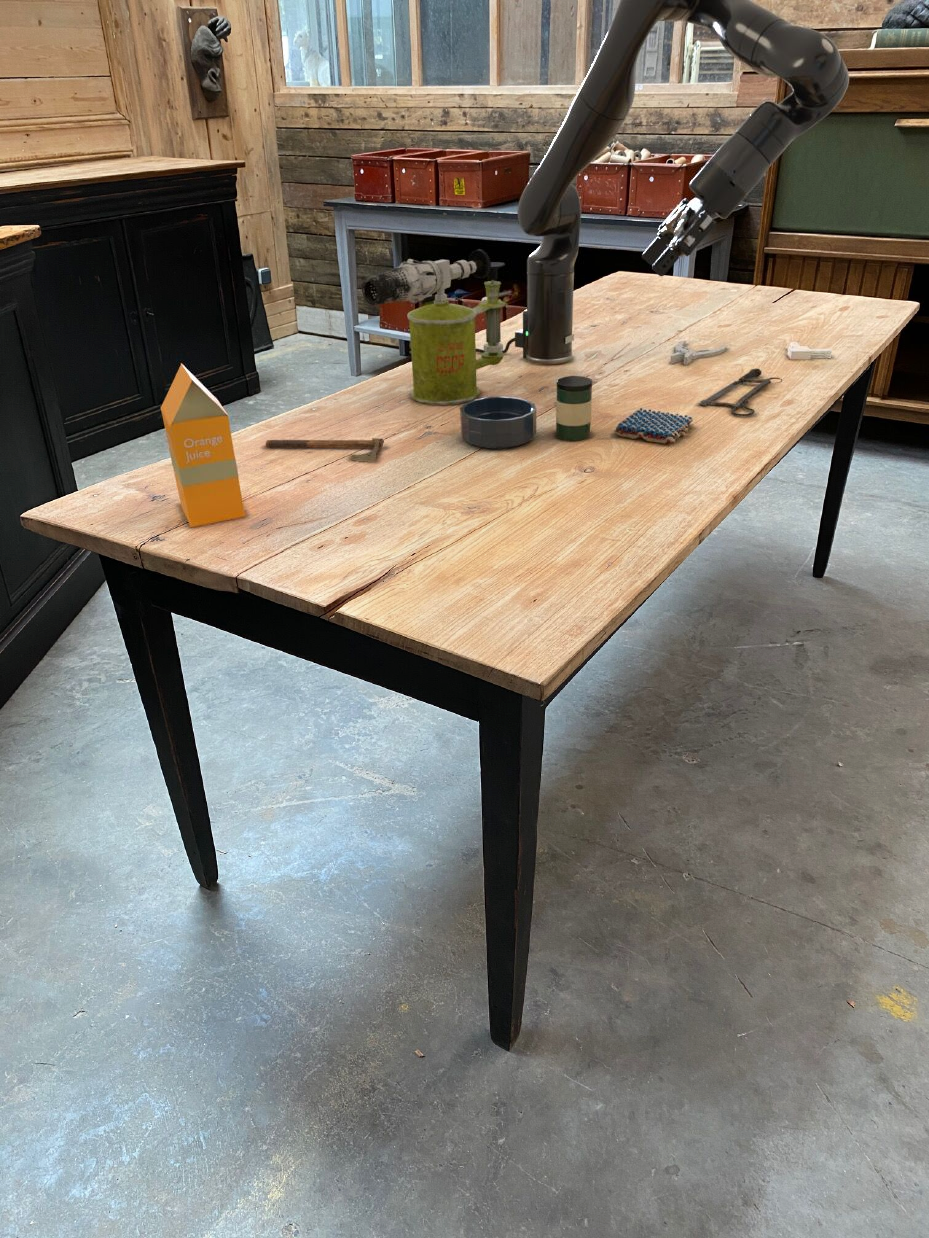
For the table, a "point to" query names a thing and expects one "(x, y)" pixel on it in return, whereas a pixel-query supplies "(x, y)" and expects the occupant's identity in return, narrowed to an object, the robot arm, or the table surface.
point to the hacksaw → (745, 398)
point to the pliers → (688, 355)
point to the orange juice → (201, 452)
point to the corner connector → (806, 352)
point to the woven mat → (654, 426)
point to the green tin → (573, 408)
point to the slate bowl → (498, 422)
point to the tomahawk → (369, 457)
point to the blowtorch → (443, 324)
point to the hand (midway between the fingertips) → (650, 266)
